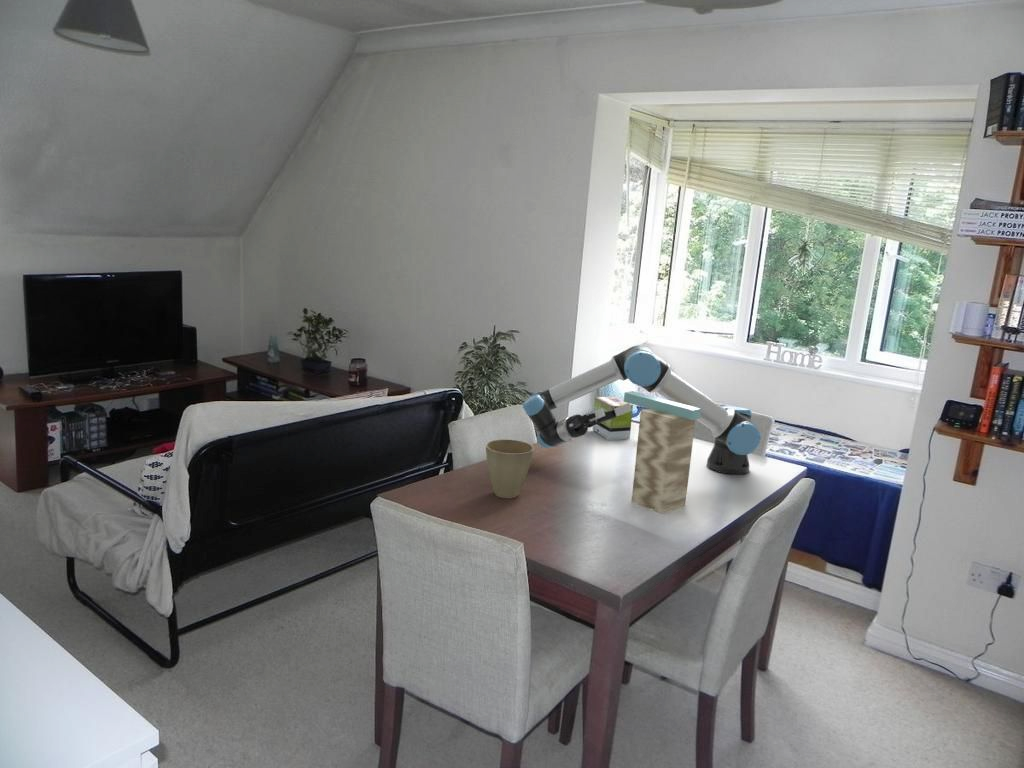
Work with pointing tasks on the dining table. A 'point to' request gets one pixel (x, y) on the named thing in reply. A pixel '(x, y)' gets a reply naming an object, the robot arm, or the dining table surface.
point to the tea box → (616, 426)
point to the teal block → (662, 405)
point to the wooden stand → (662, 460)
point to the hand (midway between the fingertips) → (617, 409)
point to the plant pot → (508, 465)
